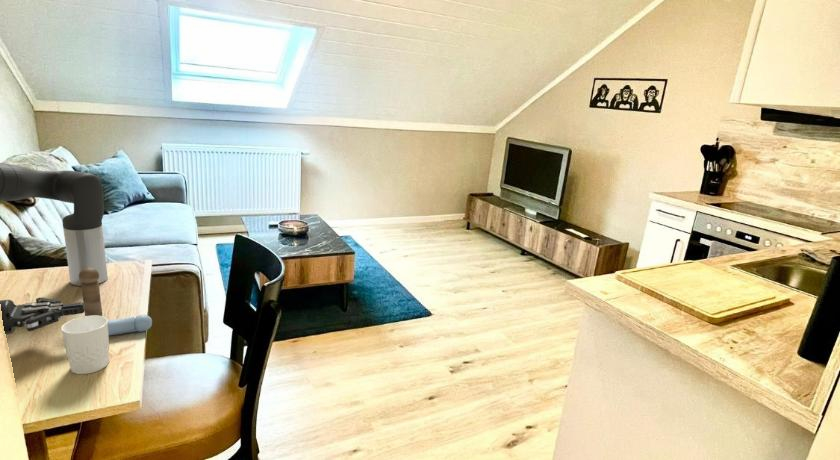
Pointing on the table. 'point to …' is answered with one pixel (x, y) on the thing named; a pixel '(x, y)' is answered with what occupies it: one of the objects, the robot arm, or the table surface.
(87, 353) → the white cup
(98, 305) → the walnut pin
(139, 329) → the blue pin
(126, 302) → the table surface
